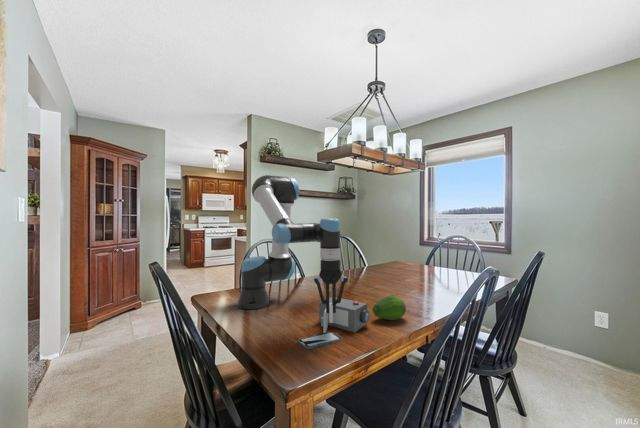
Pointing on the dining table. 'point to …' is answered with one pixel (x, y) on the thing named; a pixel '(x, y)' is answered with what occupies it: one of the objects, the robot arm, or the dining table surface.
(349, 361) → the dining table surface
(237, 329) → the dining table surface
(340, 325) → the camera body
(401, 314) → the fruit
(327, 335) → the smartphone
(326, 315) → the door
